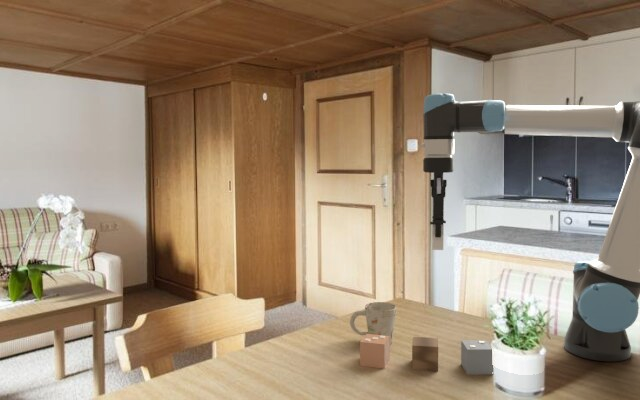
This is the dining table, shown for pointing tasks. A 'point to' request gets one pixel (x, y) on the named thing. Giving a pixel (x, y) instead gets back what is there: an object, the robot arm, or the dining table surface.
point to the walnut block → (425, 354)
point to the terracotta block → (375, 351)
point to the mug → (377, 319)
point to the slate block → (476, 356)
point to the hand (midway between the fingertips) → (437, 249)
